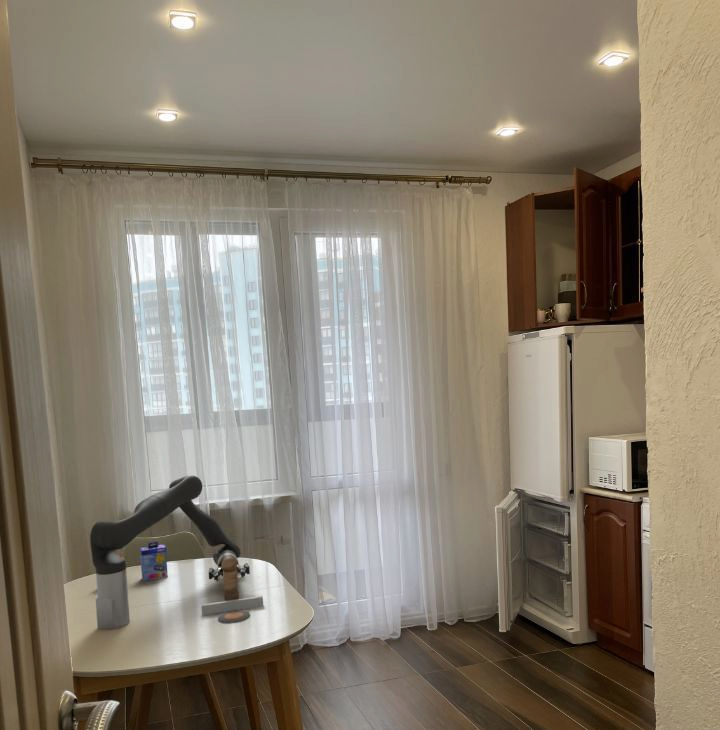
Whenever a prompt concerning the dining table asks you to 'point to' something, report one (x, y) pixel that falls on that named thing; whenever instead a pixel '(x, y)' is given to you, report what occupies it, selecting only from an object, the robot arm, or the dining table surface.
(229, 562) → the skittle
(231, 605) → the low wall
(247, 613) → the pad
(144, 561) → the ink cartridge box
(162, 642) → the dining table surface
